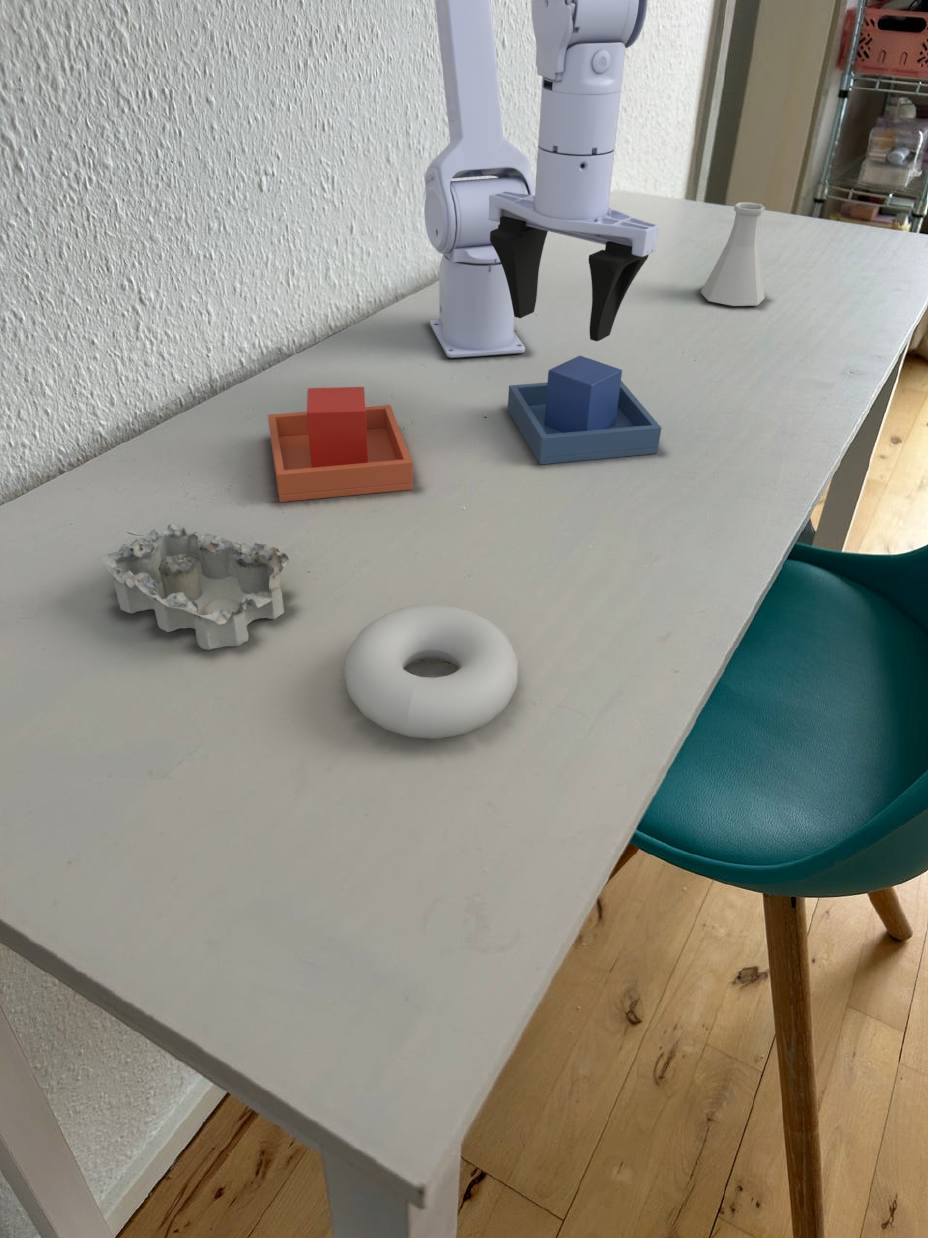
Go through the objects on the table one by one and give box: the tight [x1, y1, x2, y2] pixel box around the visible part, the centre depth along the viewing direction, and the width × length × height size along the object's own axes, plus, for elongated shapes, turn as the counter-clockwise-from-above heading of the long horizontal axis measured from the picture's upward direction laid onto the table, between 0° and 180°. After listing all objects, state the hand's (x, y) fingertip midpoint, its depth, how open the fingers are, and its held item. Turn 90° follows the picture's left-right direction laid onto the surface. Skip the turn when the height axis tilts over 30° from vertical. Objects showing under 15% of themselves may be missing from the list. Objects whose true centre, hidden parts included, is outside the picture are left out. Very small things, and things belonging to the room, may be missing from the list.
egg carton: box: [96, 522, 290, 651], centre depth 60 cm, size 11×8×4 cm
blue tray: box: [507, 380, 662, 465], centre depth 81 cm, size 10×10×2 cm
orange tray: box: [267, 404, 414, 503], centre depth 76 cm, size 10×10×2 cm
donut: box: [343, 603, 519, 740], centre depth 54 cm, size 10×4×10 cm
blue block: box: [544, 355, 623, 433], centre depth 80 cm, size 4×4×5 cm
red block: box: [306, 386, 368, 468], centre depth 75 cm, size 4×4×5 cm
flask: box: [700, 201, 766, 307], centre depth 106 cm, size 7×7×10 cm
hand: (561, 325), depth 79 cm, fingers open, 7 cm apart
